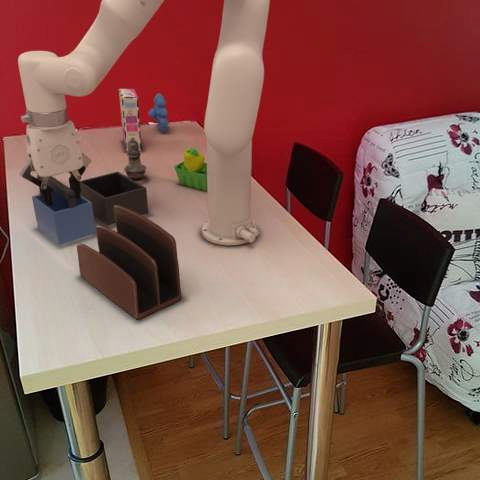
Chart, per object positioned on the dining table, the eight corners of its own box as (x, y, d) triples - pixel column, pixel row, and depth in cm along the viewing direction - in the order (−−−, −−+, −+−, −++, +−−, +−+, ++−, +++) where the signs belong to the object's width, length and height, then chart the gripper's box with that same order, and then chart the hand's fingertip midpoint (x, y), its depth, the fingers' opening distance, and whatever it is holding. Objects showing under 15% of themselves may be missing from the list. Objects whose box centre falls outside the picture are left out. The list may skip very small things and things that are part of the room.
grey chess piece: (135, 186, 153) (131, 142, 147) (120, 180, 156) (115, 137, 150) (151, 180, 157) (148, 137, 151) (137, 174, 160) (133, 132, 154)
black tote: (148, 215, 138) (146, 187, 135) (108, 227, 132) (104, 199, 128) (120, 197, 146) (117, 171, 143) (81, 208, 140) (77, 181, 136)
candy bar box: (143, 151, 176) (138, 96, 168) (126, 152, 175) (120, 97, 166) (139, 139, 185) (134, 87, 177) (123, 140, 184) (117, 88, 175)
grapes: (146, 126, 197) (143, 90, 191) (165, 125, 200) (163, 89, 193) (152, 136, 188) (150, 99, 182) (173, 135, 190) (171, 98, 184)
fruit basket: (224, 184, 156) (224, 144, 150) (206, 195, 149) (205, 153, 144) (189, 176, 161) (187, 136, 155) (170, 186, 154) (168, 145, 148)
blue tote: (96, 235, 129) (89, 187, 123) (59, 247, 124) (50, 197, 117) (73, 218, 135) (66, 172, 129) (38, 229, 130) (28, 181, 124)
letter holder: (123, 260, 120) (116, 198, 112) (182, 300, 108) (178, 233, 101) (79, 277, 113) (69, 212, 106) (137, 321, 102) (129, 251, 94)
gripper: (13, 129, 108) (30, 216, 118) (96, 114, 119) (106, 195, 128) (-3, 120, 113) (15, 204, 122) (79, 106, 123) (90, 185, 133)
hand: (62, 199), depth 125 cm, fingers open, 5 cm apart
